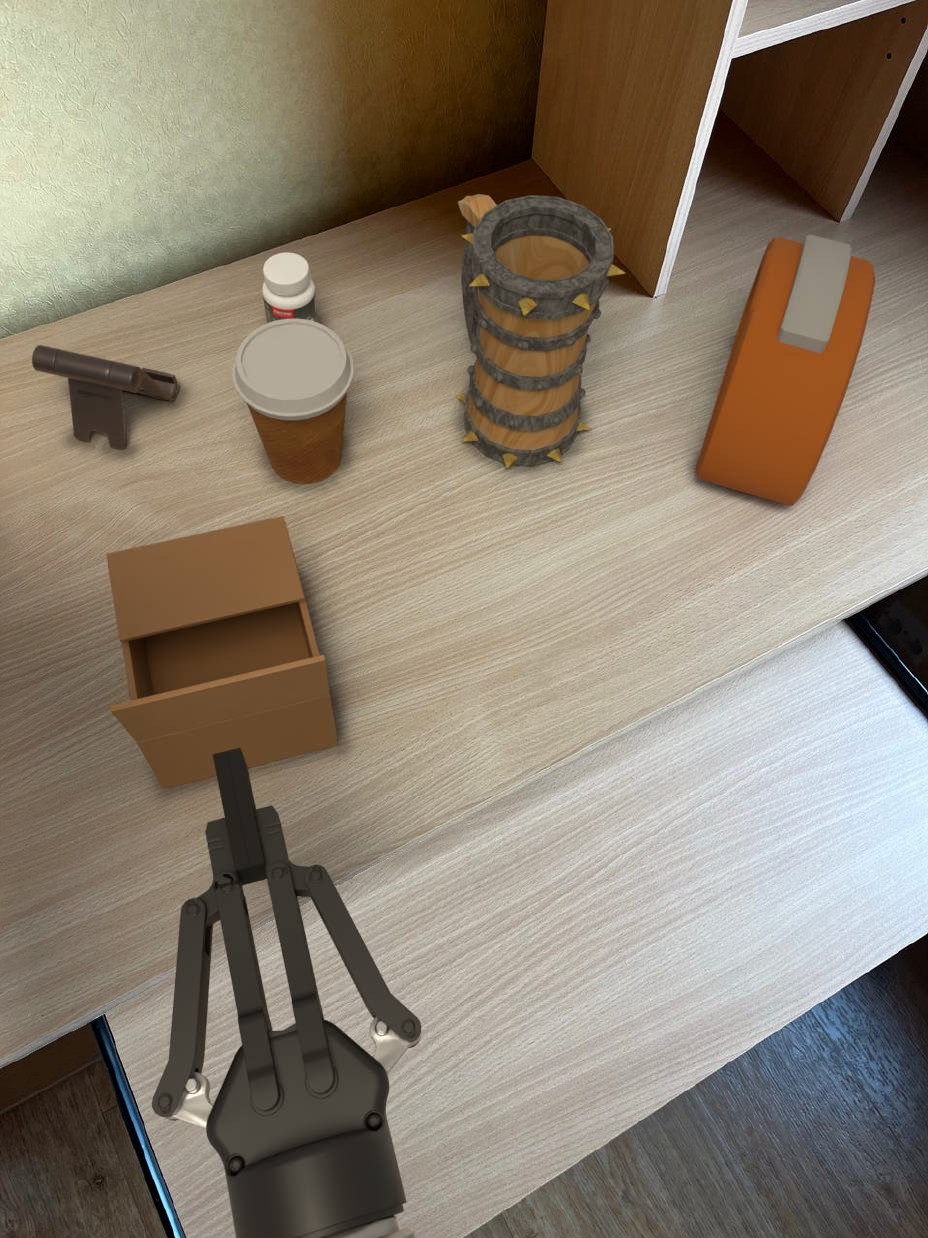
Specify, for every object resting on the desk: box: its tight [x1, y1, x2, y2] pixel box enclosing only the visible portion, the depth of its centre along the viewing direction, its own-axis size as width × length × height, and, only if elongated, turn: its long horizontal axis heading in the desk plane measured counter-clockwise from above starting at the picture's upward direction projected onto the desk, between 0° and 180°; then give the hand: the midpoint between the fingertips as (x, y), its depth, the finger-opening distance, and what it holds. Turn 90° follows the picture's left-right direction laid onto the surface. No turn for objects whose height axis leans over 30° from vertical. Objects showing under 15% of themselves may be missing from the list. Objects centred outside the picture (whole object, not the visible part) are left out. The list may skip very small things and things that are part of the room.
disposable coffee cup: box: [231, 319, 355, 485], centre depth 88 cm, size 10×10×12 cm
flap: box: [108, 654, 330, 743], centre depth 67 cm, size 13×7×1 cm
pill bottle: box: [261, 251, 319, 324], centre depth 96 cm, size 5×5×8 cm
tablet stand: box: [31, 344, 179, 451], centre depth 91 cm, size 9×8×8 cm
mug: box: [454, 193, 626, 469], centre depth 88 cm, size 13×17×20 cm
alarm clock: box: [695, 234, 876, 506], centre depth 90 cm, size 23×9×17 cm, turn 161°
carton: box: [106, 515, 339, 790], centre depth 78 cm, size 13×15×9 cm
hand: (230, 760), depth 57 cm, fingers closed
